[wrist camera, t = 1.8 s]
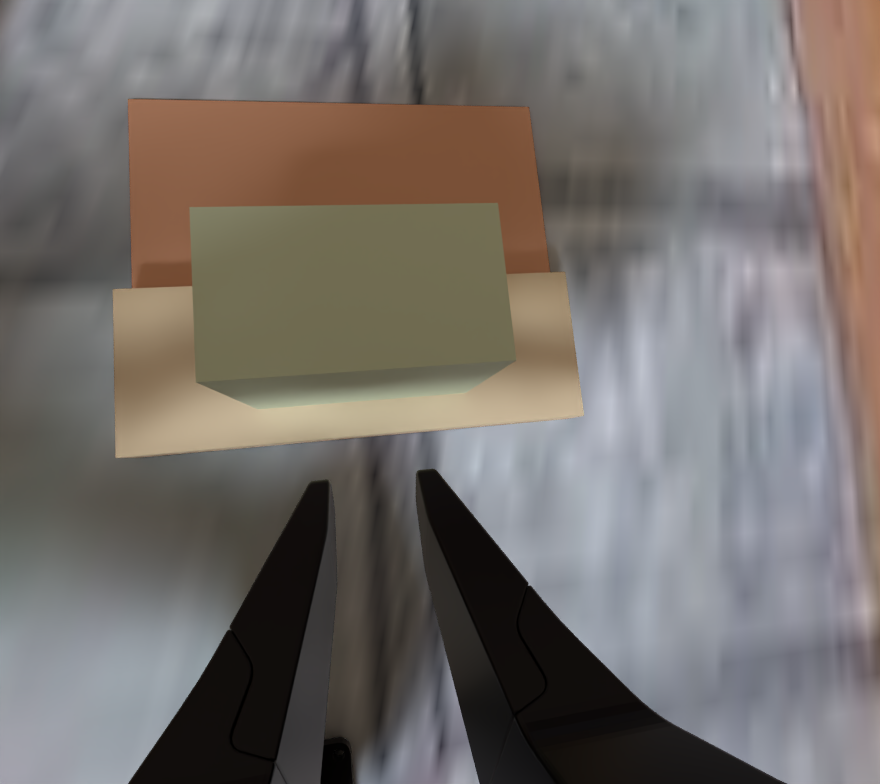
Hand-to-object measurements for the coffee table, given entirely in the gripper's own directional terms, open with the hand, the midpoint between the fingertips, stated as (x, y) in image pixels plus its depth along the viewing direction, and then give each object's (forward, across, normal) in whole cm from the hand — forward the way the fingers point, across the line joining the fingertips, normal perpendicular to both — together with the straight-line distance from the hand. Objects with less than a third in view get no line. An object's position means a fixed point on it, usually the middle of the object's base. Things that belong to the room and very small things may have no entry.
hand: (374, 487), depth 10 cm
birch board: (+12, 0, +5) cm, 14 cm away
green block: (+11, 0, +4) cm, 12 cm away
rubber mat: (+19, 0, -1) cm, 19 cm away
